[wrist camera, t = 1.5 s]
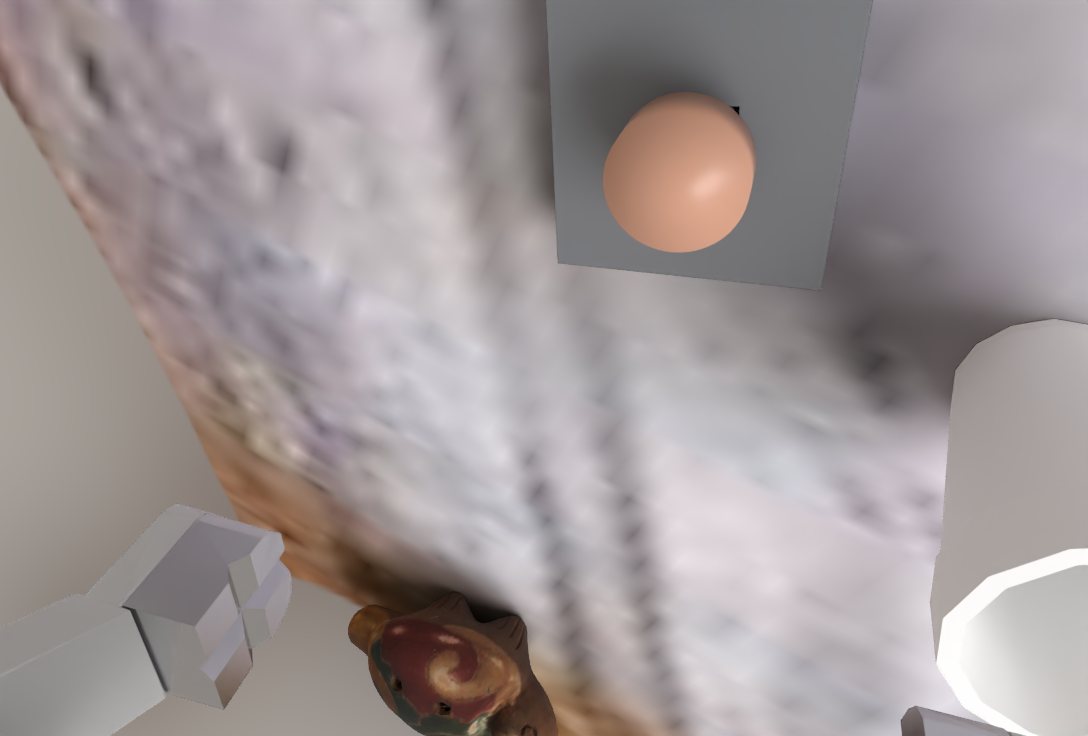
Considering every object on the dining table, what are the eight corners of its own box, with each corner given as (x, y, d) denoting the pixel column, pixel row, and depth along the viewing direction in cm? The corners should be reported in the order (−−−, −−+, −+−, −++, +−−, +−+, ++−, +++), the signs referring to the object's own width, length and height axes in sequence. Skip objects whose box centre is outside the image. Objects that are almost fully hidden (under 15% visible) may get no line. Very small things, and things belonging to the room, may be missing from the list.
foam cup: (1243, 312, 27) (1466, 611, 18) (1116, 496, 33) (1232, 803, 23) (954, 263, 30) (1006, 506, 20) (881, 445, 35) (893, 705, 25)
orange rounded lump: (771, 70, 26) (758, 116, 22) (756, 200, 29) (742, 259, 25) (634, 66, 27) (602, 108, 24) (632, 190, 30) (603, 245, 26)
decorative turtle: (584, 695, 54) (541, 810, 48) (392, 622, 58) (331, 721, 53) (591, 616, 48) (542, 737, 42) (375, 541, 52) (304, 642, 46)
